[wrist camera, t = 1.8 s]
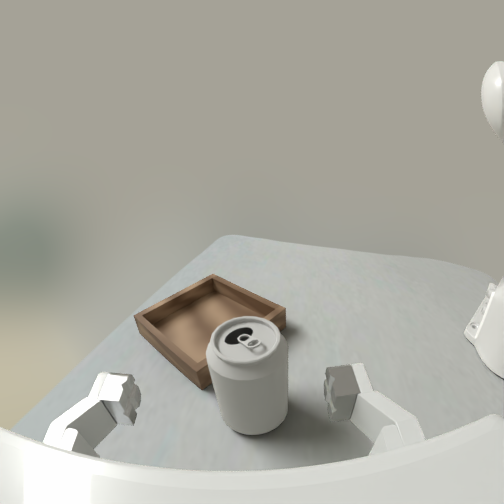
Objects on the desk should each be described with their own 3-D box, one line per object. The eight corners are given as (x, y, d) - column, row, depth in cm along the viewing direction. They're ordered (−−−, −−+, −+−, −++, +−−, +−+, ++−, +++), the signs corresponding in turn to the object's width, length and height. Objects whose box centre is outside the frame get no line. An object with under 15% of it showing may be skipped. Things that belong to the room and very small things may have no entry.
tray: (215, 290, 55) (213, 273, 54) (285, 326, 45) (285, 308, 43) (139, 333, 45) (133, 315, 44) (201, 390, 35) (196, 371, 33)
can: (258, 377, 36) (251, 300, 31) (301, 412, 31) (306, 335, 26) (209, 408, 32) (187, 333, 27) (249, 450, 27) (236, 381, 22)
